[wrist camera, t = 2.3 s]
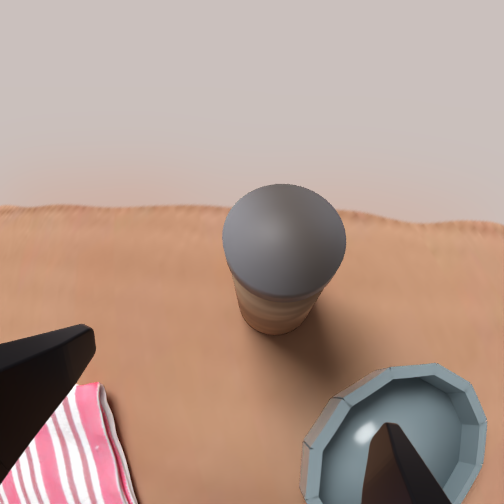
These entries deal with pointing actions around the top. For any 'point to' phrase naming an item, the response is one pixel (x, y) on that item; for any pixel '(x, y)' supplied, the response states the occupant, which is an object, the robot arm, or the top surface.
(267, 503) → the top surface
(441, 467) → the bowl
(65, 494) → the dish towel
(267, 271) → the walnut jar
